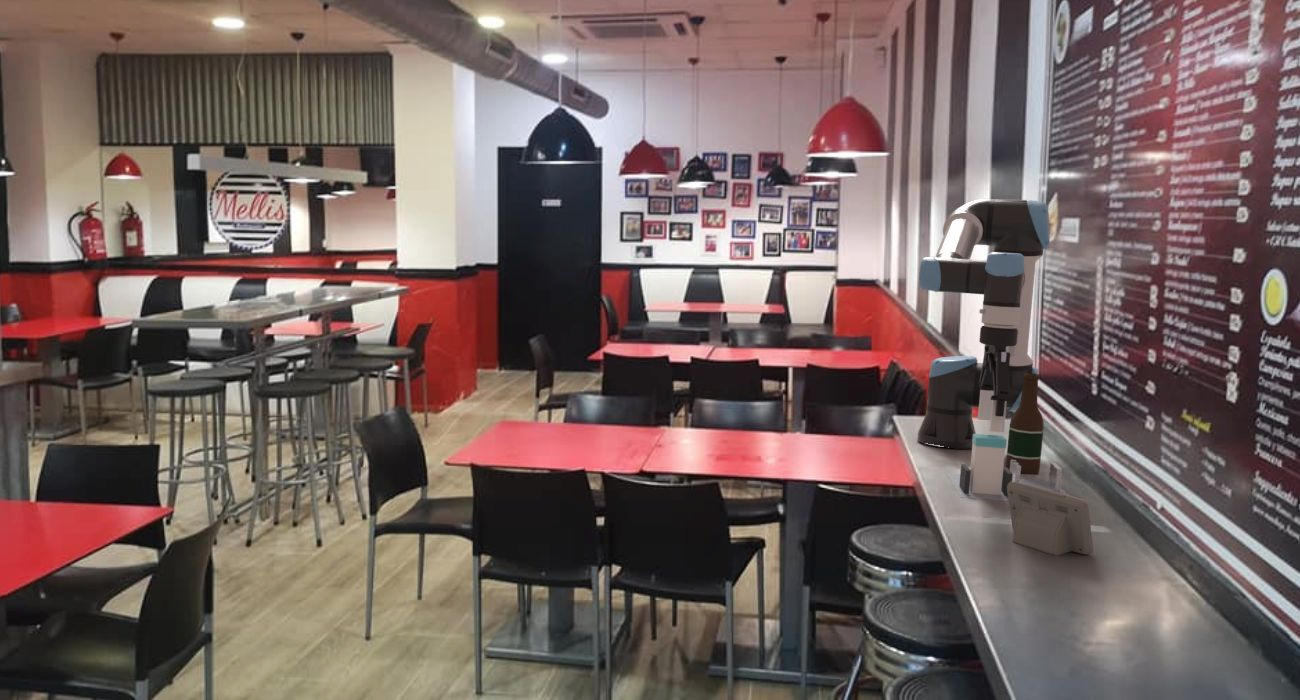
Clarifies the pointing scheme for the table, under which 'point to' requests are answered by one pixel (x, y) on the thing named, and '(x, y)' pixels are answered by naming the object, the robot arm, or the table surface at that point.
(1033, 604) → the table surface
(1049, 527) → the digital clock
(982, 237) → the robot arm
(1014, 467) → the port
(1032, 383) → the beer bottle
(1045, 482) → the panel
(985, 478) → the white and teal box
